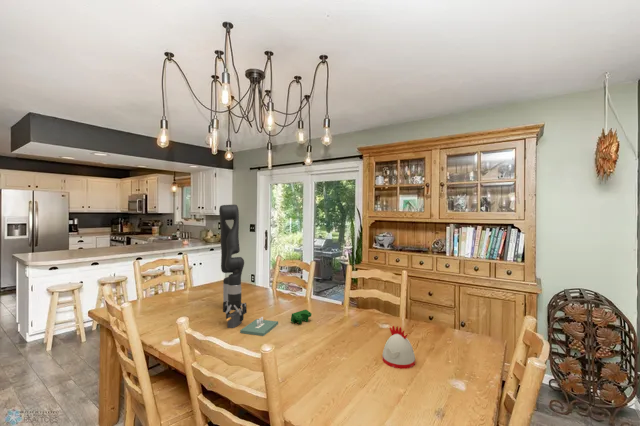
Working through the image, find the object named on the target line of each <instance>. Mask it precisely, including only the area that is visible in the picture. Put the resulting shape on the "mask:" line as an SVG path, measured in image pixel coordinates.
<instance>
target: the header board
mask: <svg viewBox="0 0 640 426" xmlns="http://www.w3.org/2000/svg"><path fill="white" fill-rule="evenodd" d="M278 324H279V321H278V320H277V321H275V320H268V319H264V316H261V317H259V318H256V319H255V320H253V321H252V322H250V323H248V324H247V325H245V326H244V327H243V328H242V329H241V328H240V330H239V332H240V333H239V334H246V335H253V336H260V337H265V335H266V336H267V334H268V333H270V331H272V330H273V329H274V328H276V326H278Z"/></svg>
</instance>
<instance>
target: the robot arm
mask: <svg viewBox="0 0 640 426" xmlns="http://www.w3.org/2000/svg"><path fill="white" fill-rule="evenodd" d="M232 220H233V223H232V227H231V228H230V226H229V225H228V223H227V221H232ZM219 223H220V224H219V225H220V252H221V256H220V257H221V259H220V270H221V272H222V273H223V274H224V273H225V274H229V275H228V276H227V277H225V278H223V281H222V282H223V283H222V284H223V288H222V289H223V291H222V292H223V293H222V296H223V300H222V301H223V303H222V312H223V313H225V319H228V315H229V314H231V311H236V310H237V312H239V314H240V322H241V321H242V322H243V321H244V315H245V314H247V312H248V310H247V308H248V307H247V302H243V303H242V275H243V270H244V266H245V260H244V258H243V257H242V256H235V257H234V256H233V255H235V254H236V255H237V254H239V253H240V238H239V233H240V232H239V230H240V229H239V228H240V212H239V206H238V205H237V204H222V205H220V206H219ZM232 256H233V257H232Z"/></svg>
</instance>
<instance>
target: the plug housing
mask: <svg viewBox="0 0 640 426" xmlns="http://www.w3.org/2000/svg"><path fill="white" fill-rule="evenodd" d="M225 319H226V318H225ZM226 322H227V328H229V329H235V328H236V327H238V326H239V325H240V324H242V323H243V321H241V322H240V314H239V312H237V310H236V311H235V310H233V311H232V312H230V314H229V315H228V319H226Z"/></svg>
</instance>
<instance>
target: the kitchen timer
mask: <svg viewBox="0 0 640 426" xmlns="http://www.w3.org/2000/svg"><path fill="white" fill-rule="evenodd" d="M389 331H390V333H391V335H390V337H389V338H388V339H387V340H386V343H385V345H384V347H383V350H382V361H383V363H384V364H385V365H386V366H389V367H391V368H395V369H400V370H401V369H403V370H404V369H410V368H413V367H414V366H415V365H416V356H415V353H414V348H413V345H412V344H411V342H410V340H409V339H408V338H407V337H408V333H407V334H405V330H402V326H400V327H399V326H398V325H396V327H395V325H392V328H391V327H389Z"/></svg>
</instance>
